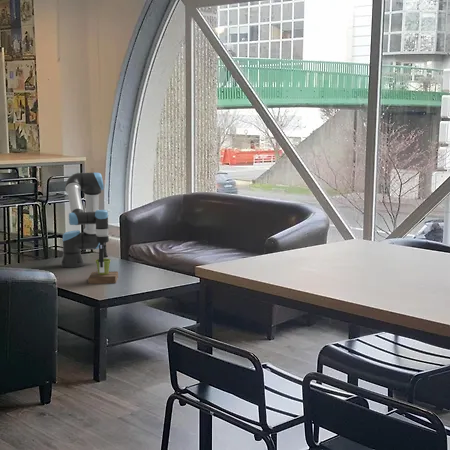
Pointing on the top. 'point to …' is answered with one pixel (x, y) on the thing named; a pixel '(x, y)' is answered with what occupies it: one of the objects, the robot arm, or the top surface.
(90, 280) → the walnut plinth
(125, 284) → the top surface
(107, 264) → the plant pot
